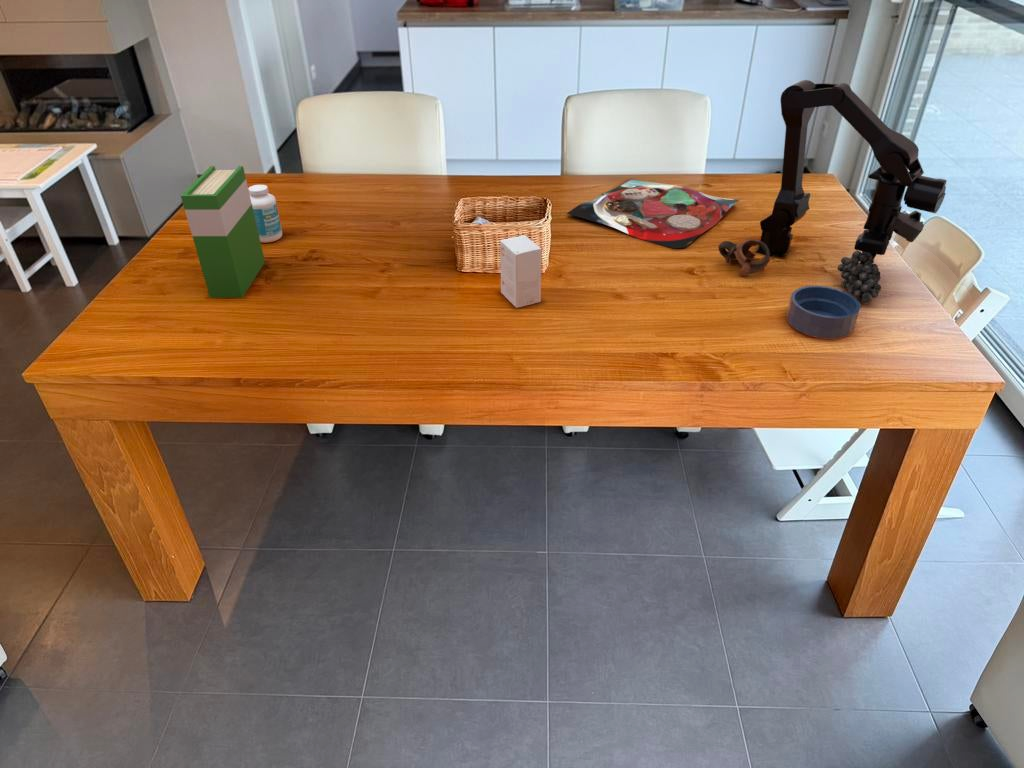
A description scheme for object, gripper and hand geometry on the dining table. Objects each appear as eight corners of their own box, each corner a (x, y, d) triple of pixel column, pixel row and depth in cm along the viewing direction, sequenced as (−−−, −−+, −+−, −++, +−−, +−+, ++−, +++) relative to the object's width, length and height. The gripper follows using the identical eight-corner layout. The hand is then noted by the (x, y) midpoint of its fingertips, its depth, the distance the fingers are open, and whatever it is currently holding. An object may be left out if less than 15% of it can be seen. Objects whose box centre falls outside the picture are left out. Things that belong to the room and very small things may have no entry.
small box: (541, 302, 163) (542, 248, 156) (515, 308, 161) (515, 254, 153) (525, 286, 169) (525, 234, 161) (500, 292, 167) (499, 239, 159)
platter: (630, 179, 222) (631, 173, 221) (739, 207, 205) (740, 200, 204) (565, 216, 200) (565, 210, 199) (681, 251, 183) (682, 244, 182)
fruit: (887, 274, 153) (873, 241, 165) (844, 282, 156) (833, 249, 168) (889, 308, 158) (876, 274, 169) (847, 316, 161) (837, 282, 172)
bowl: (778, 330, 153) (784, 307, 150) (794, 302, 162) (800, 280, 159) (846, 347, 147) (853, 324, 144) (858, 318, 157) (866, 295, 153)
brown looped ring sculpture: (763, 261, 179) (777, 242, 172) (754, 292, 176) (768, 273, 168) (717, 244, 180) (728, 223, 173) (706, 274, 177) (718, 254, 169)
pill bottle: (272, 245, 188) (261, 194, 180) (247, 241, 190) (235, 191, 182) (288, 233, 194) (278, 184, 186) (264, 230, 196) (253, 180, 188)
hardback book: (235, 262, 181) (210, 166, 167) (265, 262, 181) (243, 166, 166) (209, 297, 166) (180, 195, 152) (242, 297, 166) (216, 195, 152)
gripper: (921, 224, 150) (899, 291, 159) (932, 193, 163) (911, 257, 172) (863, 213, 155) (845, 279, 164) (878, 184, 168) (861, 247, 177)
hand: (867, 265), depth 169 cm, fingers closed
